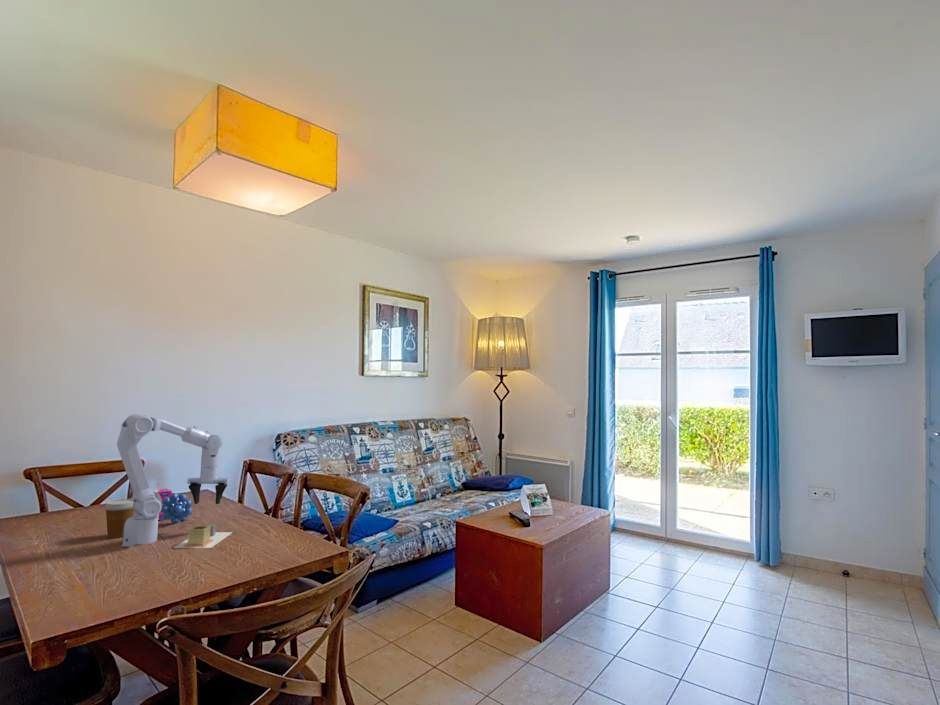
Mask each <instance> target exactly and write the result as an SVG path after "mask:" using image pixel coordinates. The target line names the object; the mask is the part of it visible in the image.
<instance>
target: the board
mask: <svg viewBox="0 0 940 705" xmlns="http://www.w3.org/2000/svg"><path fill="white" fill-rule="evenodd" d="M208 526H211V529H210V541H208V542H207V543H205V544H204V545H188V538H187V539H185V540H184V541H182V542H180V543H179V544H176V545H175V546H173V549H174V548H175V549H211V548H213V547H215V546H216V545H217V544H219V543H221V541H224V539H226V538H227V537H229V536H230V535H231V534H233V531H231V532H230V531H227V532H226V531H221V532H220V531H219V532H218V531H216V527H217V525H216V524H209V525H208Z"/></svg>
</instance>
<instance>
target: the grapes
mask: <svg viewBox="0 0 940 705" xmlns="http://www.w3.org/2000/svg"><path fill="white" fill-rule="evenodd" d="M163 504H165V505H162V508H161V512H163V513H164V514H163V518H164V519H165V520H166V521H169V520H170V523H172V524H178V523H179V522H186V521H187V520H188V516H191V515H193V512H194V511H193V509H192V506H193V504H194V502H193V501H192V500H191V499H188V496H187V494H186V493H181V494H178V493H176V492H172V494H171V495H170V498H169V497H165V498H163ZM165 520H164V521H165Z"/></svg>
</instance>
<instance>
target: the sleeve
mask: <svg viewBox="0 0 940 705" xmlns="http://www.w3.org/2000/svg"><path fill="white" fill-rule="evenodd" d="M210 529H211V526H209V525H194V526H193V527H191V528H189V529H188V533H187V534H188V536H187V539H188V545H204V544H205V543H207V542H208V541H210Z"/></svg>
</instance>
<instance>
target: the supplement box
mask: <svg viewBox="0 0 940 705" xmlns="http://www.w3.org/2000/svg"><path fill="white" fill-rule="evenodd" d="M151 490H152V489H151ZM152 491H153V493H154V494H155V497H156V499H157V500H159V501H160V502H161V504H162V505H165V504H163V498H165V497H169V498H170V495H171V494H172V493H173V490H170V489H167V488H162V489H153V490H152ZM163 514H164V513H163V512H161V511H160V513H159V519H158V520H160V521H165V520H164V518H163Z"/></svg>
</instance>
